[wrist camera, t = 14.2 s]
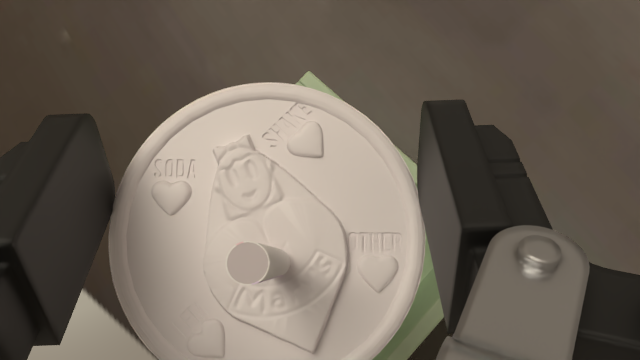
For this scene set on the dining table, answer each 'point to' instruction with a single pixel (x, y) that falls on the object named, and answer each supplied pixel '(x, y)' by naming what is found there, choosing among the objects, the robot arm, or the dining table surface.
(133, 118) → the dining table surface
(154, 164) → the smoothie
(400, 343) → the bin
